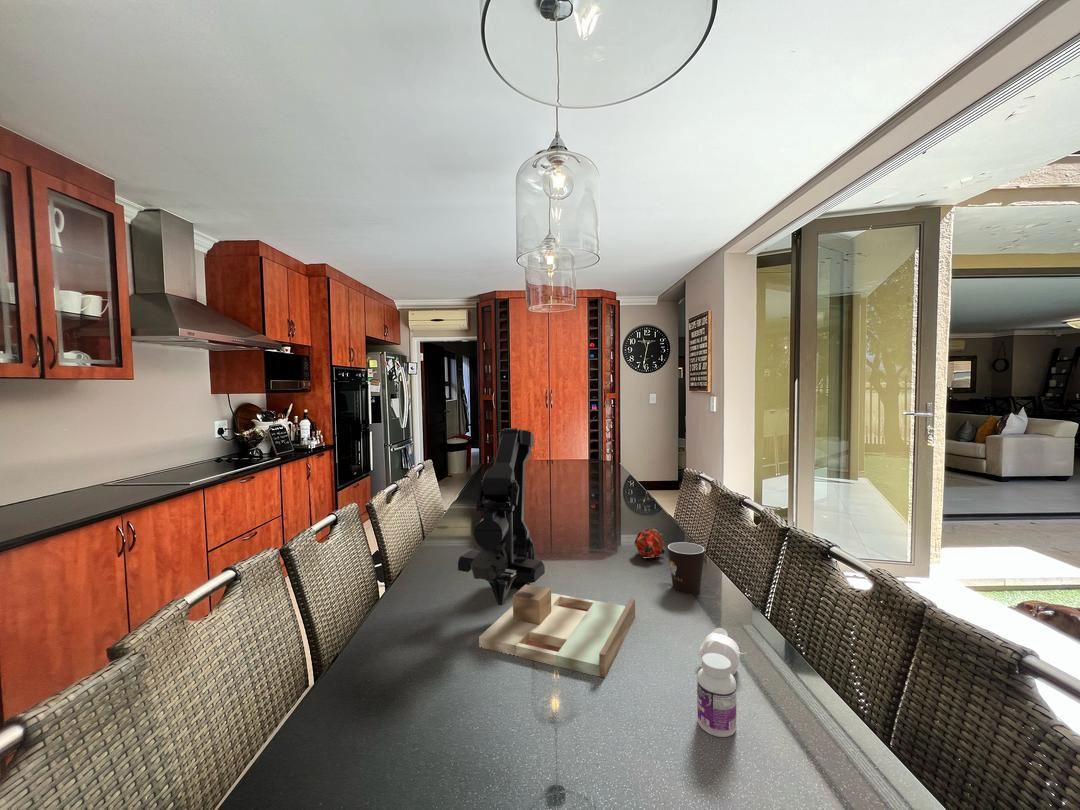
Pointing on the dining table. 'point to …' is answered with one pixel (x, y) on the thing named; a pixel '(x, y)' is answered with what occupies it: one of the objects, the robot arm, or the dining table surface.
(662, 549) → the dragon fruit
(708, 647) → the elephant figurine
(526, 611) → the walnut block
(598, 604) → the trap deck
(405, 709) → the dining table surface
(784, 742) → the dining table surface
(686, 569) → the coffee mug
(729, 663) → the pill bottle
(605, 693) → the dining table surface
